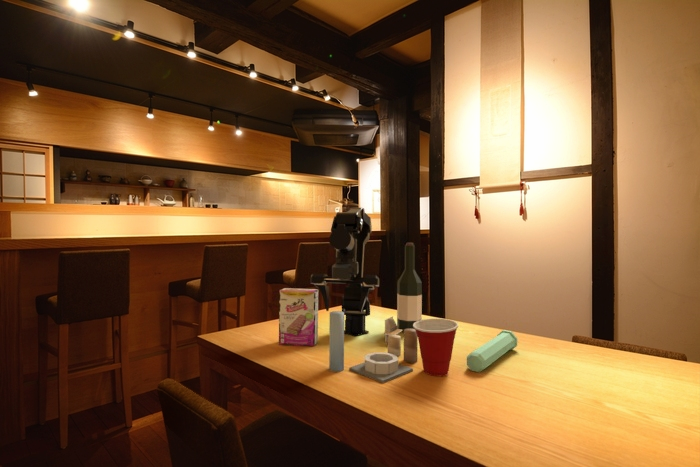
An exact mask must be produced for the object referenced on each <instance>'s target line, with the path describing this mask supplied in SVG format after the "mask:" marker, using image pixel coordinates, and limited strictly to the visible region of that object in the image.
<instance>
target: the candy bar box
mask: <svg viewBox="0 0 700 467" xmlns="http://www.w3.org/2000/svg"><path fill="white" fill-rule="evenodd" d="M278 293H279V295H278V296H279V298H278V300H279V301H278V302H279V303H278V304H279V305H278V313H279V314H278V315H279V316H278V345H282V346H283V345H285V346H301V347H303V346H305V347H315V346H316V345H315V344H318V341H319V288H318V289H316V288H296V287H295V288H294V287H293V288H291V287H290V288H289V287H284V288H282V289H279V292H278Z"/></svg>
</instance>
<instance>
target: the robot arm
mask: <svg viewBox="0 0 700 467" xmlns="http://www.w3.org/2000/svg"><path fill="white" fill-rule="evenodd" d="M372 226H373V225H372V220H371V217H370V216H369V215H368V214H367V213H366V212H365V208H363V207H350V208H348V211H346V212H344V211H343V212H337V213H336V214H335V216H333V220H332V224H331V228H330V236H329V245H330V246H331V247H332V248H334V249H335V250H336V251H335V260H334V261H335V262H334V263H333V265H331V276H329V275H328V274H326V273H312V274H310V280H309V281H310V282H309V284H312V285H313V286H314V287H315V288H318V290H319V291H320V293H321V296H322V300H323V302H324V306H325V310H326V312H329V310H330V286H329V285H328V284H348V285H347V286H345V288H344V289H343V296H342V297H341V305H340V306H341V311H342V312H344V316H345V319H344V334H347V335H350V336H354V337H357V336H362V335H365V334H369V333H370V332H369V330H366V317H368V316H370V315H371V306H370V305H371V303H370V301H369V297H368V296H369V294H370V292H371V291H372V290H375V287H380V278H379V276H377V275H376V274H364V260H365V245H366V244H367V243H368V241H369V240H370V234H372V229H373V227H372Z"/></svg>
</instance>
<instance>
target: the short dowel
mask: <svg viewBox="0 0 700 467" xmlns="http://www.w3.org/2000/svg"><path fill="white" fill-rule="evenodd" d="M401 339H402V336H401V335H399V334H398V335H389V336H388V342H387V353H390V354H393V355H396V356H397V358H398V357H401V353H402V351H401V350H402V349H401V348H402V341H401Z"/></svg>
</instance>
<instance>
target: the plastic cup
mask: <svg viewBox="0 0 700 467" xmlns="http://www.w3.org/2000/svg"><path fill="white" fill-rule="evenodd" d="M413 327H414V328H415V330H416V333H417V337H418V346H419V347H418V348H419V352H420V357H421V361H422V362H421V363H422V368H423V372H424V373H425V374H427V375H430V376H433V377H434V376H435V377H443V376H446V375H448V374H449V371H450V365H451V360H452V357H453V356H452V355H453V348H454V342H455V338H456V334H457V329H458V328H459V323H458V322H457V321H455V320H452V319H447V318H440V317H439V318H425V319H422V320H420V321H417V322H415V323H414V324H413Z"/></svg>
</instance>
